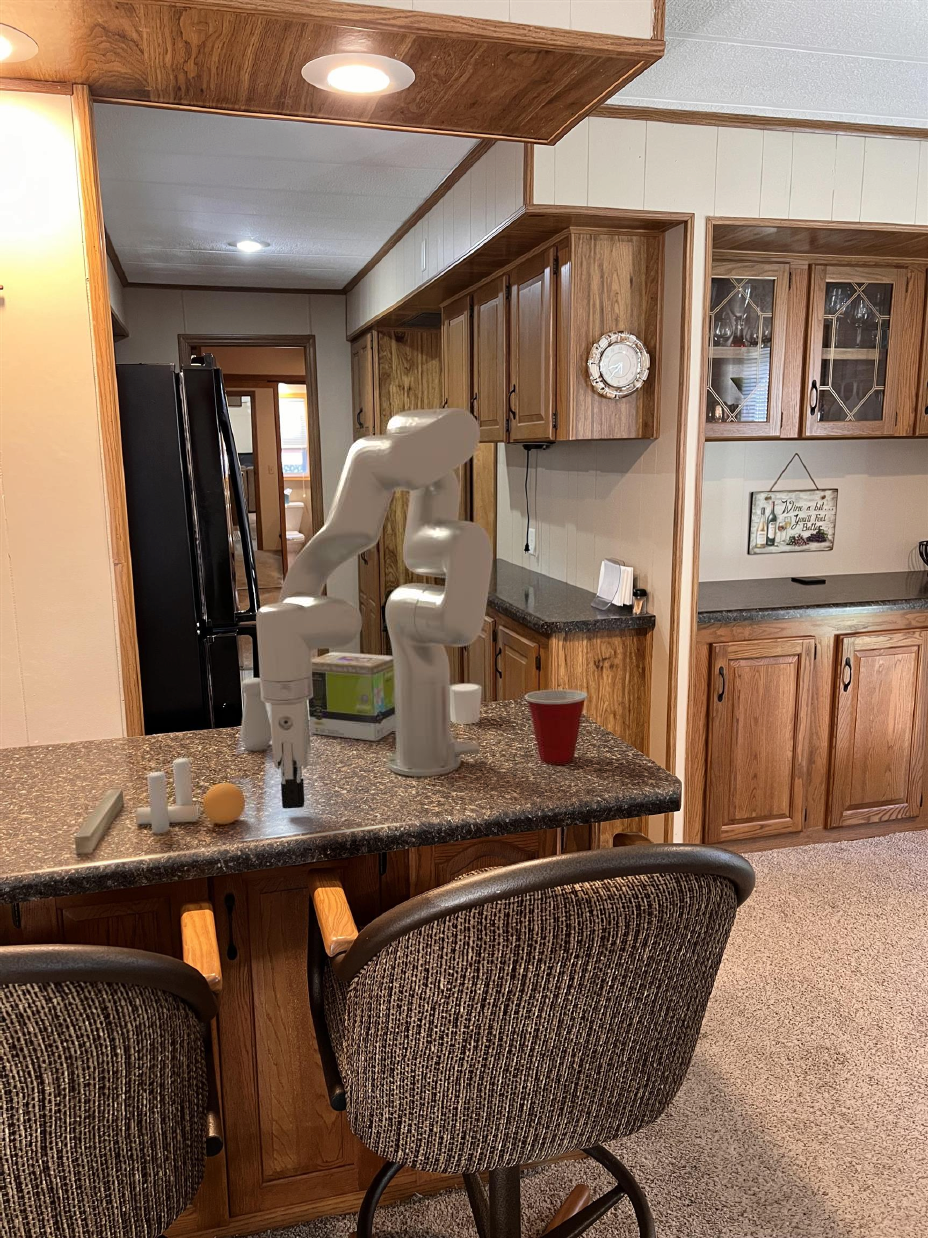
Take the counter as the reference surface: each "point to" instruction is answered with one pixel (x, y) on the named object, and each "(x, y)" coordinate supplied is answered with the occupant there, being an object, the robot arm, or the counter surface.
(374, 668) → the tea box
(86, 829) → the back rail
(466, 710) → the white cylinder
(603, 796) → the counter surface
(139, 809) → the front pin
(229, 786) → the ball
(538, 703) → the plastic cup
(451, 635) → the robot arm
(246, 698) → the salt shaker
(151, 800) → the pin
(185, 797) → the pin
